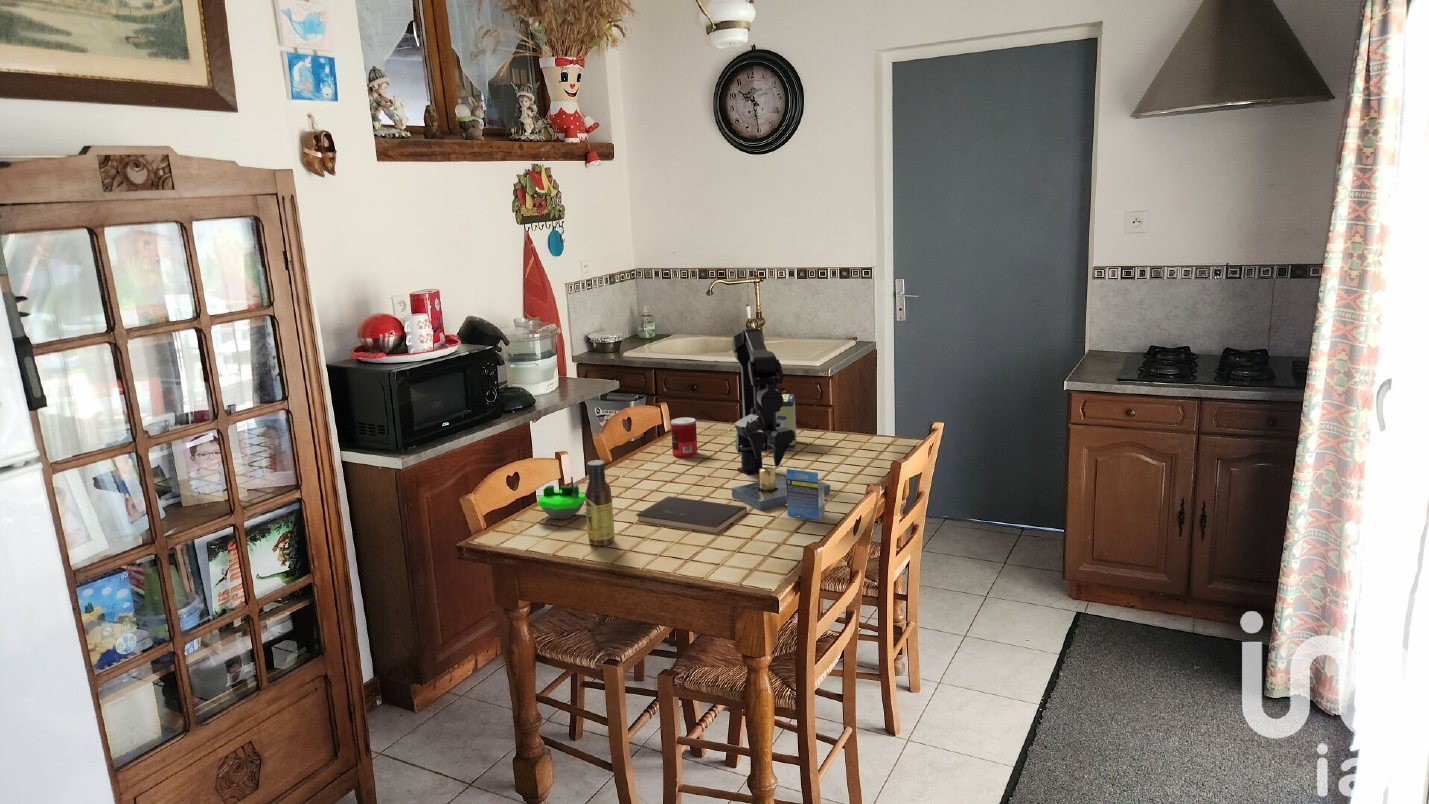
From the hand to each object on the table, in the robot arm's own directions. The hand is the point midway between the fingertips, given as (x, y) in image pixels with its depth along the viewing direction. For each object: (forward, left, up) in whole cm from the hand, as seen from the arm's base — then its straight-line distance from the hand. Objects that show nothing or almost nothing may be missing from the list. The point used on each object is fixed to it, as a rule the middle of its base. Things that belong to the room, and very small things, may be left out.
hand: (767, 462), depth 247 cm
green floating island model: (-20, -50, -10) cm, 55 cm away
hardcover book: (0, -23, -11) cm, 25 cm away
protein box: (-44, +30, -10) cm, 54 cm away
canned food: (-52, +3, -10) cm, 53 cm away
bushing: (0, 0, -10) cm, 10 cm away
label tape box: (+17, 0, -10) cm, 20 cm away
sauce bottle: (+3, -49, -10) cm, 50 cm away
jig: (0, +4, -10) cm, 11 cm away
